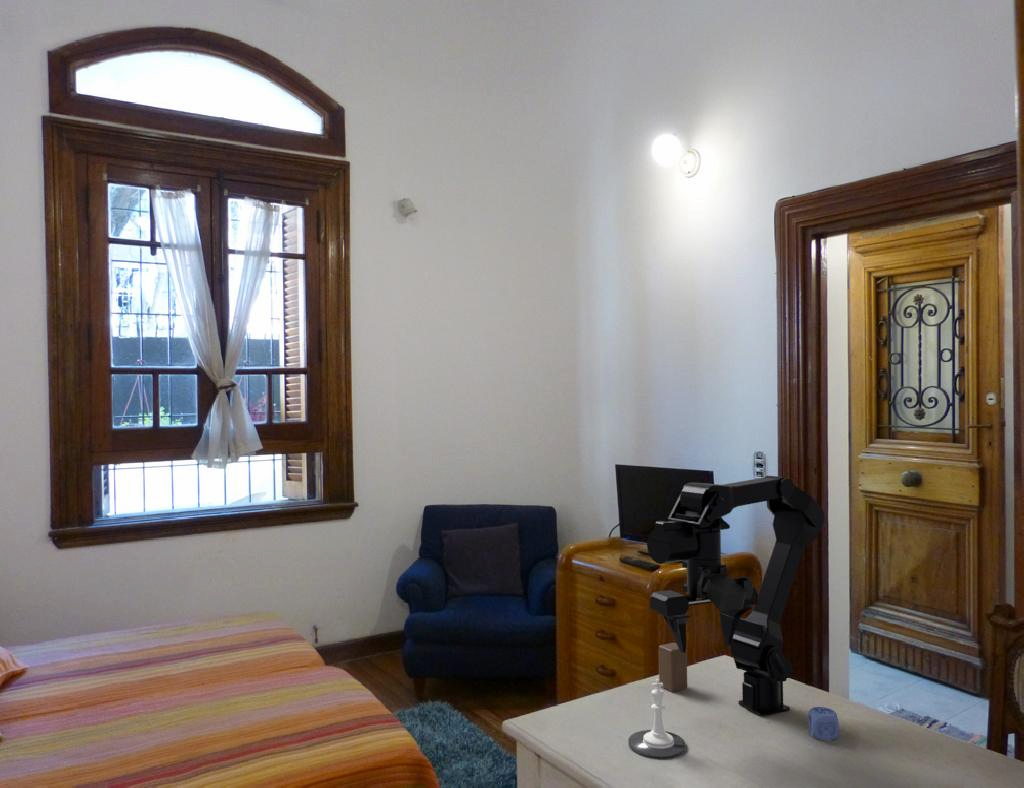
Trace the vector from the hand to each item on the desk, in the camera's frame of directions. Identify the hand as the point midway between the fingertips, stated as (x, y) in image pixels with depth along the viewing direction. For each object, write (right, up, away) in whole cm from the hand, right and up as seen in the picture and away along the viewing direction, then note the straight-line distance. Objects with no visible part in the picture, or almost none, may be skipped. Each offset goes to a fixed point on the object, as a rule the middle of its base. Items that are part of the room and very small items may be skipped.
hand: (705, 648), depth 130 cm
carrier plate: (-10, -13, -8) cm, 18 cm away
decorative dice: (+18, -13, -5) cm, 23 cm away
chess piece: (-10, -13, -8) cm, 18 cm away
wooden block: (-2, -14, +17) cm, 22 cm away
